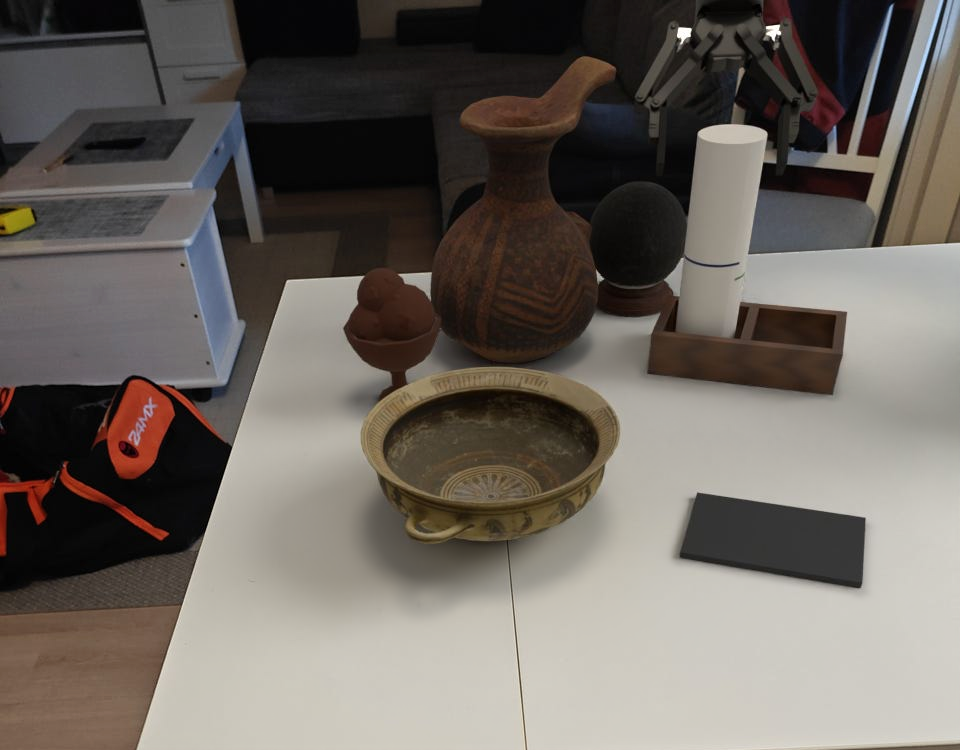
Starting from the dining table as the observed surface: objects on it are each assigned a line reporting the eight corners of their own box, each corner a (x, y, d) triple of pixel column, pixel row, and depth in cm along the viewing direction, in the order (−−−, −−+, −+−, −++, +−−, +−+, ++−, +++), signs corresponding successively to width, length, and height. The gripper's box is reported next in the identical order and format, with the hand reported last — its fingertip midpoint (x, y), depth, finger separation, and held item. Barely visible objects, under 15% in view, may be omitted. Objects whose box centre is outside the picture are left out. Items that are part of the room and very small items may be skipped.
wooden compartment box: (837, 350, 109) (847, 311, 106) (832, 394, 101) (842, 354, 98) (664, 332, 115) (668, 295, 111) (647, 373, 107) (650, 334, 104)
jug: (591, 384, 106) (605, 101, 85) (418, 376, 109) (390, 102, 88) (605, 307, 121) (620, 51, 100) (453, 302, 124) (436, 53, 103)
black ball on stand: (684, 282, 126) (697, 168, 115) (675, 322, 117) (689, 203, 106) (593, 277, 128) (597, 166, 118) (577, 316, 119) (581, 199, 109)
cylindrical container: (662, 351, 111) (685, 130, 94) (711, 339, 113) (742, 120, 95) (691, 375, 106) (721, 147, 89) (742, 363, 108) (781, 137, 90)
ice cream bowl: (345, 420, 102) (324, 293, 92) (371, 374, 110) (353, 252, 100) (434, 425, 101) (422, 296, 90) (453, 378, 108) (444, 254, 98)
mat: (864, 522, 84) (865, 517, 84) (860, 588, 77) (862, 582, 77) (696, 497, 88) (697, 492, 88) (679, 557, 82) (680, 552, 81)
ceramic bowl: (545, 641, 74) (546, 549, 67) (311, 572, 83) (290, 483, 76) (654, 460, 93) (663, 373, 86) (455, 418, 102) (449, 335, 95)
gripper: (833, 5, 103) (824, 185, 102) (619, 12, 105) (609, 187, 105) (853, -45, 95) (843, 149, 95) (621, -36, 98) (611, 152, 98)
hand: (720, 169), depth 100 cm, fingers open, 13 cm apart
